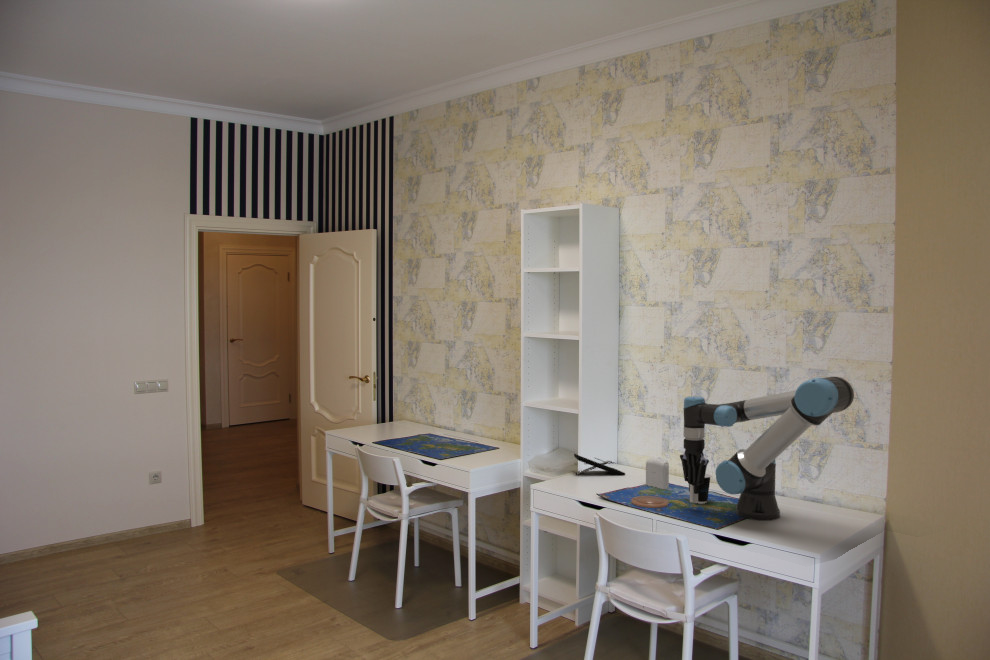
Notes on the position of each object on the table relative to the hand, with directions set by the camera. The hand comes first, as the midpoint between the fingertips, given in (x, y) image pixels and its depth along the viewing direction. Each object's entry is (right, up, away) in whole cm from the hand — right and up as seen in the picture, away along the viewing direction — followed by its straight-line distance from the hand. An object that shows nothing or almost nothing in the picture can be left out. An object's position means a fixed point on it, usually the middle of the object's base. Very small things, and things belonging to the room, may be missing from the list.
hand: (693, 501), depth 271 cm
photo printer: (-6, -3, +35) cm, 35 cm away
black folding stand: (-27, -2, +58) cm, 64 cm away
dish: (-14, -3, +10) cm, 18 cm away
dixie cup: (+5, -3, +11) cm, 13 cm away
